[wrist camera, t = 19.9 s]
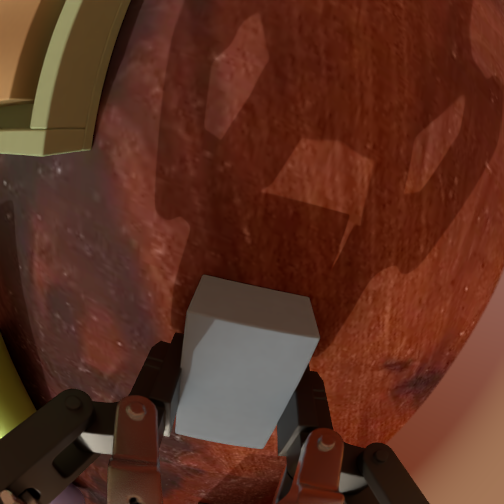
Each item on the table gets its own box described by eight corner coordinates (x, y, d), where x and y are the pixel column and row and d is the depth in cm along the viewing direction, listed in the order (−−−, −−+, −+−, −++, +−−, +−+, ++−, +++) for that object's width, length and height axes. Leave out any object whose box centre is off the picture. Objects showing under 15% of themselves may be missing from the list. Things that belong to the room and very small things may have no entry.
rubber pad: (202, 273, 10) (186, 311, 8) (309, 296, 10) (321, 337, 8) (185, 394, 13) (174, 433, 10) (263, 409, 13) (263, 449, 11)
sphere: (98, 497, 25) (87, 529, 18) (68, 485, 26) (56, 514, 19) (71, 477, 23) (57, 513, 16) (42, 464, 23) (27, 495, 17)
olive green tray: (42, -37, 4) (14, -52, 2) (168, -71, 5) (149, -105, 2) (-15, 144, 8) (-55, 152, 6) (91, 150, 9) (42, 156, 6)
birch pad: (44, -24, 5) (14, -39, 2) (110, -46, 5) (82, -71, 2) (-1, 107, 7) (-41, 109, 5) (54, 102, 7) (8, 99, 5)
